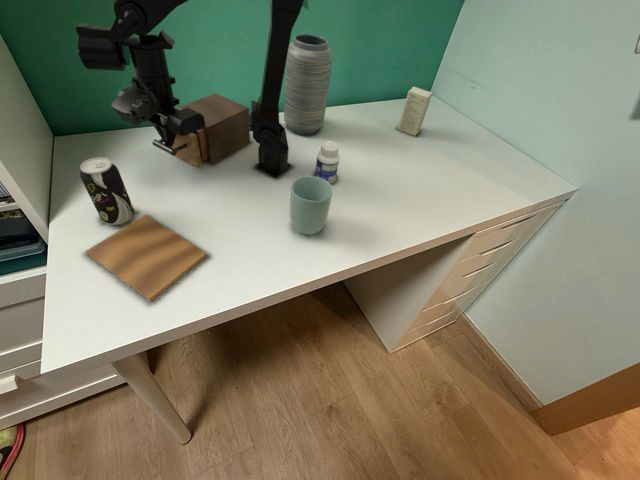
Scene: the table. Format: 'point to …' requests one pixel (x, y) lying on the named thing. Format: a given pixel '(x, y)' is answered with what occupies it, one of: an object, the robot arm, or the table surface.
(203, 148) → the drawer
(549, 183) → the table surface
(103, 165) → the beverage can
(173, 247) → the wooden board
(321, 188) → the cup
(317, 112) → the vase
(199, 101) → the cabinet
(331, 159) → the pill bottle
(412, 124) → the cosmetic box
